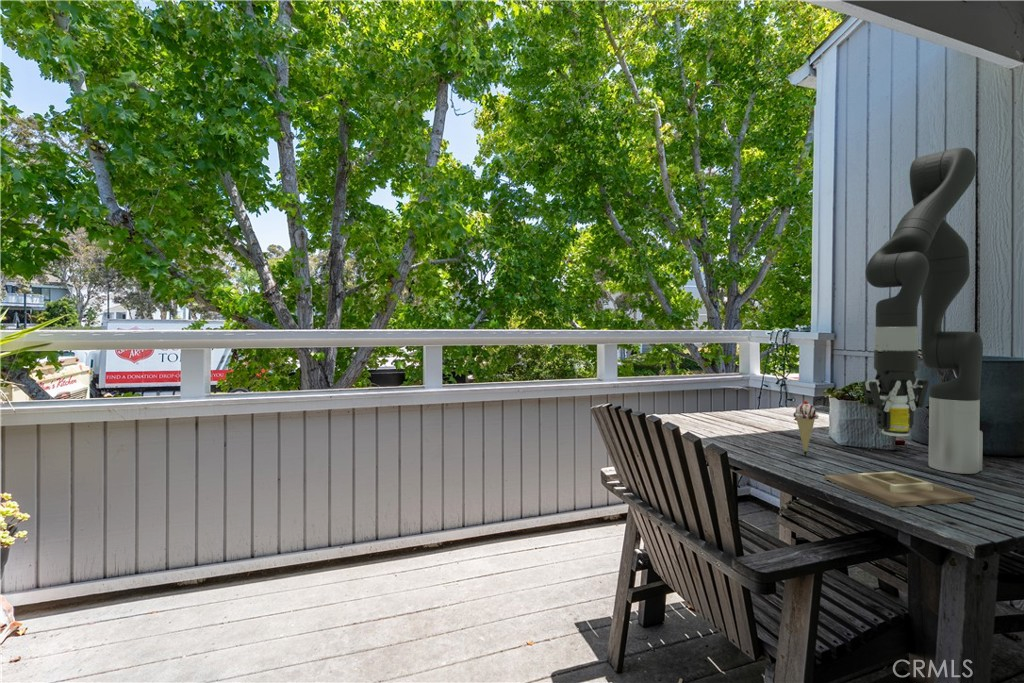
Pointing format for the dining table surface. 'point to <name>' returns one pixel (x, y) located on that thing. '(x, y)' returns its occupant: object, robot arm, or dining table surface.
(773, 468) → the dining table surface
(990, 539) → the dining table surface
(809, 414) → the ice cream cone
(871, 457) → the dining table surface
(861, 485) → the socket board
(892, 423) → the supplement bottle
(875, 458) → the dining table surface
